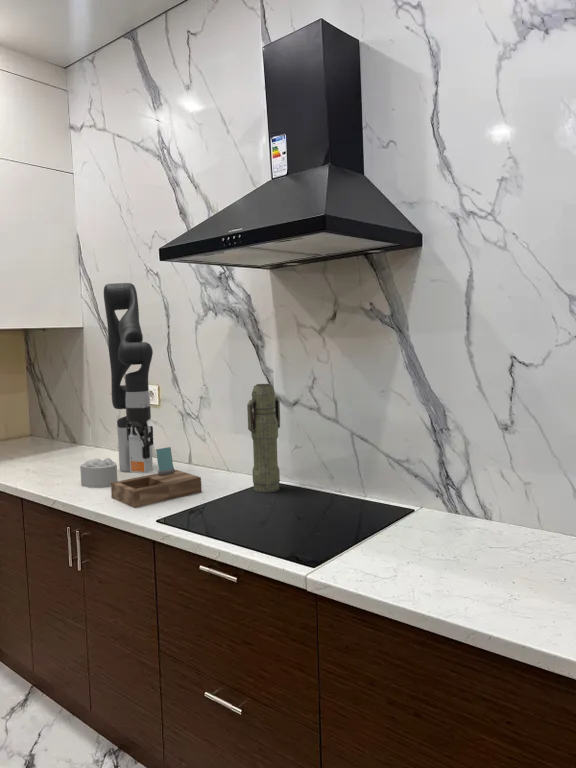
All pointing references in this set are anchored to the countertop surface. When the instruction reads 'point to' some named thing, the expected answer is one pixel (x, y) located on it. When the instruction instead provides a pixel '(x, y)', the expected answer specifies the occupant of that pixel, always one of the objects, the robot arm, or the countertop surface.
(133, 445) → the skincare box
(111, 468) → the lumpy-topped squat cylinder
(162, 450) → the teal card holder
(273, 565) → the countertop surface
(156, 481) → the socket block
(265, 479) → the thermos
